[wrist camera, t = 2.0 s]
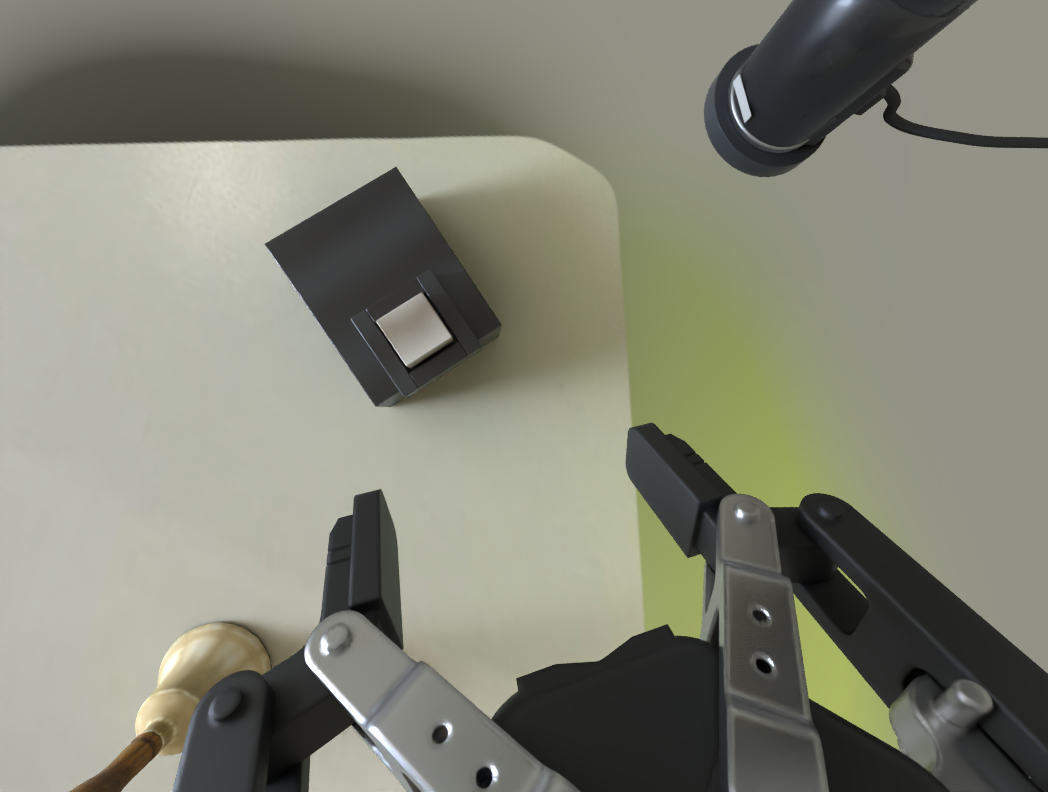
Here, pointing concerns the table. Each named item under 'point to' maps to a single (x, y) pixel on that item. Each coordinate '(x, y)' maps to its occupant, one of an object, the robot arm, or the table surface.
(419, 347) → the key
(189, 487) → the table surface
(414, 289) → the black square panel
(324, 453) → the table surface
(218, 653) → the hand bell
